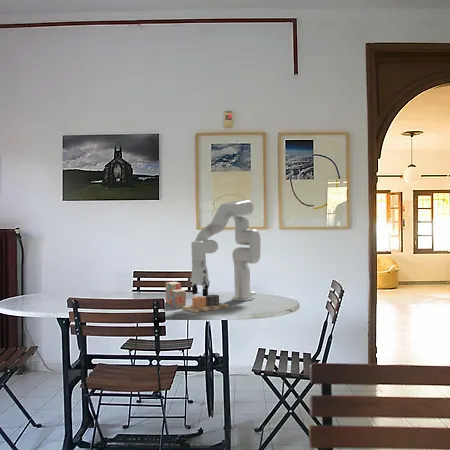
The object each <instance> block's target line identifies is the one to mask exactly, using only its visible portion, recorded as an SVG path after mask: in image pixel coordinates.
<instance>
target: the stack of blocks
mask: <svg viewBox="0 0 450 450" xmlns="http://www.w3.org/2000/svg"><path fill="white" fill-rule="evenodd" d="M186 292H187V291H186V290H185V289H183V288H182V284H181V283H180V282H178V281H165V303H167V304H168V305H169V304H170V305H169V306H171V305H172V308H174V307H175V308H174V309H178V308H180V309H181V308H182V309H183V306H187V305H186V302H187V301H186V300H187V299H186V298H187V293H186Z"/></svg>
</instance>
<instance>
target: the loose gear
mask: <svg viewBox="0 0 450 450" xmlns="http://www.w3.org/2000/svg"><path fill="white" fill-rule="evenodd" d="M191 302H192V304H191V305H193V307H194V308H195V307H196V308H201V307H202V308H203V307H206V296H204V297H203V296H201V295H199V296H194V297H193V296H192V301H191Z"/></svg>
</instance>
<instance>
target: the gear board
mask: <svg viewBox="0 0 450 450" xmlns="http://www.w3.org/2000/svg"><path fill="white" fill-rule="evenodd" d="M205 297H206V307H203V308H202V307H201V308H196V307H195V308H194V307H193V305H192V304H190V305H186V306H183V307H182V310H184V311H187V312H188V311H189V312H192V313H203V312H202V311H204V312H209V310H210V311H215V310H222V309H228V308H230V304H227V303H223V302H220V295H218V294H208V296H205Z"/></svg>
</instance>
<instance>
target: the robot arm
mask: <svg viewBox="0 0 450 450" xmlns="http://www.w3.org/2000/svg"><path fill="white" fill-rule="evenodd" d="M254 209H255V207H254V204H253V202H252V201H251V200H233V201H232V200H231V201H229V202H224V203H221V204H219V206H218V208H217V210H216V212H215V214H214V216H213V218H212V220H211V222H209V224H207V225H206V226H205V227H203V228H202V229H201V231H199V232H198V234H197V236H196V237H195V240H194V241H192V242H191V247H190V248H191V277H189V281H190V286H191V290H192V291H191V292H192V293H191V294H192V295H198V285H199V286H201V287H202V297H206V296H208V295H209V287H210V284H211V282H210V280H209V273H208V271H209V270H208V267H207V259H206V254H214V253H216V252H217V251H218V249H219V244H218V242H217V241H216V240H214V239H210V238H211V237H213V236H215V235H217V234H219V233H221V232H223V231H224V230H225V229H226V226H227V224H228V222H229V220H230V218H233V220H234V242H235V243H236V244H237V245H240V246H241V247H236V248H235V249H233V251H232V261H233V267H234V270H233V271H234V272H233V273H234V275H233V276H234V278H233V279H234V281H233V282H234V283H233V284H234V295H233V296H232V298H231V299H232V301H238V302H239V301H241V302H243V301H246V302H247V301H252V300H253V299H254V297H253V296H255V295H257V292H256V291H251V272H250V271H251V270H250V267H249V264H254V265H255V264H257V263H259V261H260V259H261V248H262V247H261V243H262V241H261V235H260V232H259V231H258V230H257V229H250V220H249V217H248V216H249V215H251V214H252V213H253V212H254ZM242 246H243V247H242ZM244 246H247V247H244Z"/></svg>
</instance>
